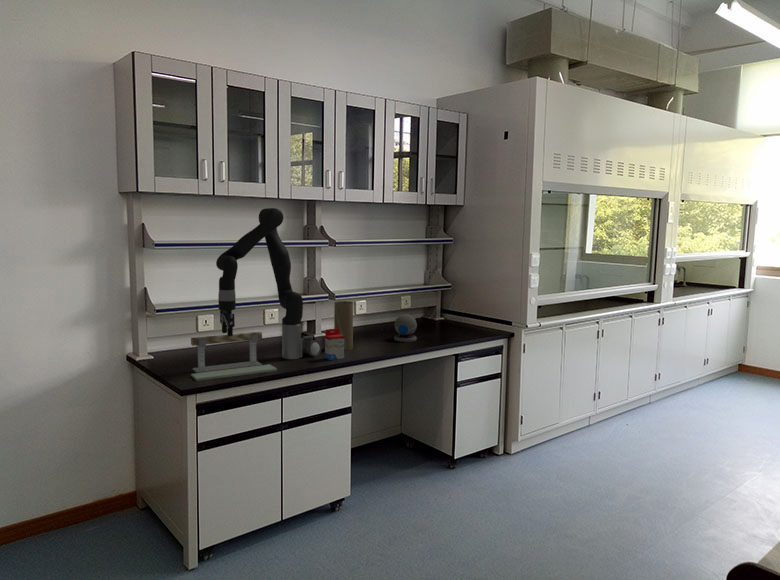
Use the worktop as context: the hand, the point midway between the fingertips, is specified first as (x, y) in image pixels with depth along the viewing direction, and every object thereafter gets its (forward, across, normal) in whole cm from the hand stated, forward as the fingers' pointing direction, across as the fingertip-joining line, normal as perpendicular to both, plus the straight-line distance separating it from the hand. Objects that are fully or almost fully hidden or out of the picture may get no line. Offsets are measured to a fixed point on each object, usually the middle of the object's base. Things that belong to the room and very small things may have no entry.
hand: (227, 334), depth 269 cm
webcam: (+15, +17, -110) cm, 113 cm away
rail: (+3, 0, 0) cm, 3 cm away
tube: (+15, +13, -67) cm, 70 cm away
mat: (+16, -10, 0) cm, 19 cm away
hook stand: (+16, 0, 0) cm, 16 cm away
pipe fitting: (+16, +8, -44) cm, 48 cm away
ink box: (+16, -6, -52) cm, 55 cm away
